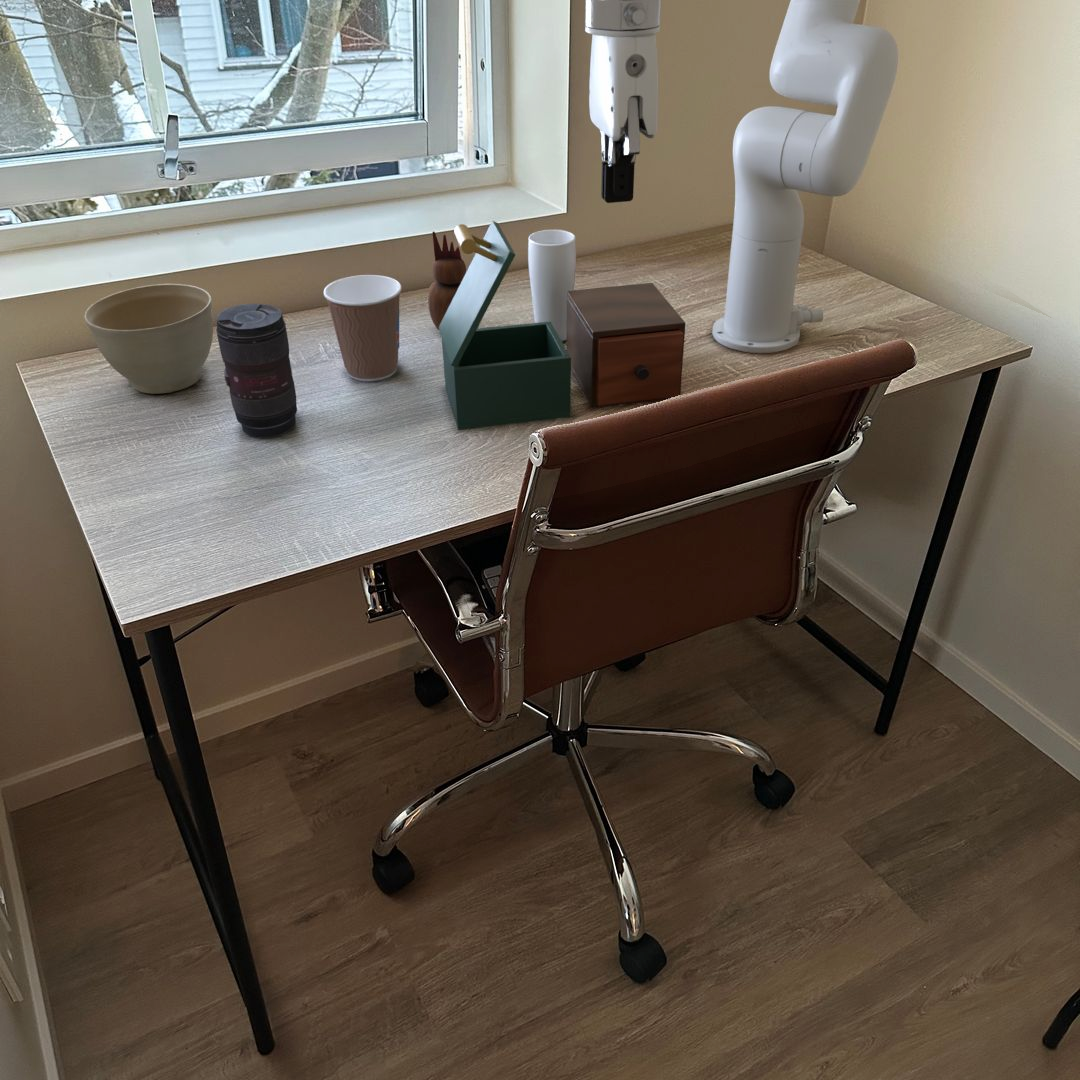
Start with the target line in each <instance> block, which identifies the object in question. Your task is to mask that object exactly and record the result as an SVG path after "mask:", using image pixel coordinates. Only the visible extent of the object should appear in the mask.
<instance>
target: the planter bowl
mask: <svg viewBox="0 0 1080 1080" xmlns="http://www.w3.org/2000/svg"><path fill="white" fill-rule="evenodd" d="M212 309H213V300H212V295H210V293H209V292H208V291H207V290H205V289H204V288H201V287H198V286H194V285H190V284H183V283H182V284H181V283H157V284H149V285H141V286H137V287H133V288H128V289H125V290H121V291H118V292H114V293H112V294H109V295H107V296H105V297H102V298H100V299H98V300H97V301H95V302H93V303H92V304H90V305H89V307H87V308H86V310H85V312H84V321H85V323H86V325H87V327H88V328H89V330H90V333H91V336H92V338H93V340H94V343H95V346H96V347H97V349H98V351H99V352H100V353H101V355H102V356H103V358H104V359H105V360H106V362H108V364H109V365H110V366H111V367H112V368H113V369H114V370H115V371H116V372H117V373H118V374H120V376H122V377H123V378H125V379H126V380H128V382H129V384H130V386H131V387H132V388H133V390H135V391H137V392H140V393H143V394H151V395H154V394H167V393H169V394H171V393H173V392H177V391H181V390H184V389H187V388H189V387H191V386H192V385H195V384H196V383H197V382H198V381H199V380H200V379H201V378H202V376H203V366H204V364H205V363H206V361H207V359H208V357H209V355H210V354H209V353H210V351H211V348H212V344H213V338H214V316H213V311H212Z"/></svg>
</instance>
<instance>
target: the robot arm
mask: <svg viewBox="0 0 1080 1080" xmlns="http://www.w3.org/2000/svg"><path fill="white" fill-rule="evenodd" d="M584 1H585V11H584V14H585V15H584V21H585V22H584V26H585V27H584V29H585V30H584V32H585V33H587V34H590V35H592V36H591V46H590V65H589V84H588V85H589V88H588V89H589V90H588V103H589V104H588V105H589V109H588V110H589V117H590V121H591V123H592V124H593V125H594V126H595V127H596V128H597V129H599V133H600V134H601V135H600V137H601V138H600V139H601V141H600V143H601V144H600V145H601V160H602V162H601V183H600V184H601V187H600V188H601V189H600V197H601V199H602V200H604V202H605V203H607V204H615V203H624V202H626V203H627V202H632V201H633V200H634V189H635V187H634V186H635V165H636V159H637V155H640V154H641V139H640V138H641V137H640V135H643V136H644V137H646V138H647V139H654V138H655V137H656V136H657V134H658V128H659V127H658V125H659V58H658V46H657V45H658V43H657V36H656V34H658V33H660V30H661V10H662V9H661V8H662V0H584ZM860 3H861V0H790V1H789V5H788V8H787V11H786V14H785V17H784V20H783V23H782V26H781V30H780V33H779V36H778V39H777V41H776V44H775V47H774V51H773V55H772V58H771V62H770V66H769V83H770V86H771V88H772V90H773V91H775V93H777V94H778V95H780V96H782V97H784V98H788V99H791V100H797V101H800V102H806V103H813V104H819V105H826V106H832V107H833V106H834V107H837V108H836V112H835V115H834V114H826V113H820V112H813V111H810V110H804V109H797V108H791V107H785V106H775V105H774V106H773V105H772V106H762V107H761V106H760V107H758V108H755V109H753V110H751V111H749V112H748V113H746V114H745V115H744V116H743V117H742V119H741V120H740V121H739V123H738V124H737V126H736V129H735V131H734V135H733V139H732V162H733V173H734V194H735V195H734V212H733V223H732V233H731V243H730V244H731V245H730V252H729V253H730V254H729V265H728V276H727V284H726V285H727V286H726V296H725V307H724V316H722V317H720V318H719V319H717V320H716V321H715V322H714V323H713V326H712V330H711V333H712V337H713V338H714V340H715V341H716V342H718V343H719V345H722V346H724V347H726V348H729V349H731V350H735V351H738V352H744V353H752V354H773V353H779V352H783V351H786V350H789V349H791V348H792V347H794V346H796V345H797V344H798V343H799V340H800V336H801V331H800V328H799V327H800V326H801V327H802V326H803V324H805V323H809V324H810V323H811V324H813V323H820V322H823V320H824V311H823V309H822V308H813V309H808V305H807V304H799V305H794V299H795V292H796V285H797V277H798V271H799V263H800V257H801V256H800V255H801V250H802V249H801V247H802V240H803V233H804V226H805V213H804V207H803V203H802V201H801V197H800V195H799V192H798V191H800V192H803V193H804V192H805V193H810V194H814V195H820V196H826V197H834V198H835V197H842V196H845V195H846V194H848V193H849V192H851V191H852V190H853V189H854V188H855V186H856V185H857V184H858V182H859V180H860V179H861V176H862V174H863V172H864V170H865V167H866V165H867V162H868V160H869V156H870V154H871V151H872V148H873V145H874V142H875V140H876V137H877V134H878V131H879V128H880V126H881V123H882V121H883V117H884V114H885V111H886V109H887V106H888V103H889V101H890V97H891V94H892V91H893V88H894V86H895V85H894V84H895V81H896V76H897V72H898V64H899V50H898V44H897V42H896V39H895V38H894V36H893V35H892V34H891V32H889V31H888V30H887V29H884V28H882V27H879V26H876V25H875V26H874V25H870V24H869V25H867V24H858V23H854V22H855V18H856V15H857V12H858V9H859V7H860Z"/></svg>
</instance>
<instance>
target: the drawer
mask: <svg viewBox="0 0 1080 1080" xmlns="http://www.w3.org/2000/svg"><path fill="white" fill-rule="evenodd" d="M683 335H684V334H683V332H682V331H681V330H676V331H672V330H664V331H654V332H645V333H635V334H625V335H616V336H606V337H598V339H597V381H596V402H597V404H598V406H600V405H608V404H617V403H626V402H635V401H643V400H652V399H661V398H669V397H675V396H678V395H679V391H680V377H681V363H682V349H683Z"/></svg>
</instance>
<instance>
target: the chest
mask: <svg viewBox="0 0 1080 1080" xmlns="http://www.w3.org/2000/svg"><path fill="white" fill-rule="evenodd" d="M441 347H442V361H443V374H444V387H445V392H446V396H447V399H448V402H449V406H450V409H451V411H452V415H453V418H454V422H455V425H456V429H457V431H463V430H472V429H481V428H488V427H489V428H490V427H498V426H505V425H513V424H514V425H515V424H523V423H531V422H540V421H541V422H542V421H549V420H557V419H558V420H559V419H566V418H571V417H572V372H571V357H570V355H569V353H568V352H567V347H566V346H565V344H564V343H563V341H561V339H560V337H559V336H558V334H557V332H556V330H555V329H554V327H553V325H552V323H551V322H540V323H534V322H530V323H521V324H511V325H510V324H509V325H500V326H492V327H491V326H490V327H480V328H477V329H476V331H475V333H474V335H473V337H472V339H471V341H470V343H469V345H468V347H467V349H466V350H465V352H464V354H463V356H462V358H461V360H460V362H459V364H458V366H457V367H454V366H451V364H450V361H449V358H448V355H447V352H446V349H445V346H444V343H443V340H442V339H441Z"/></svg>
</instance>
